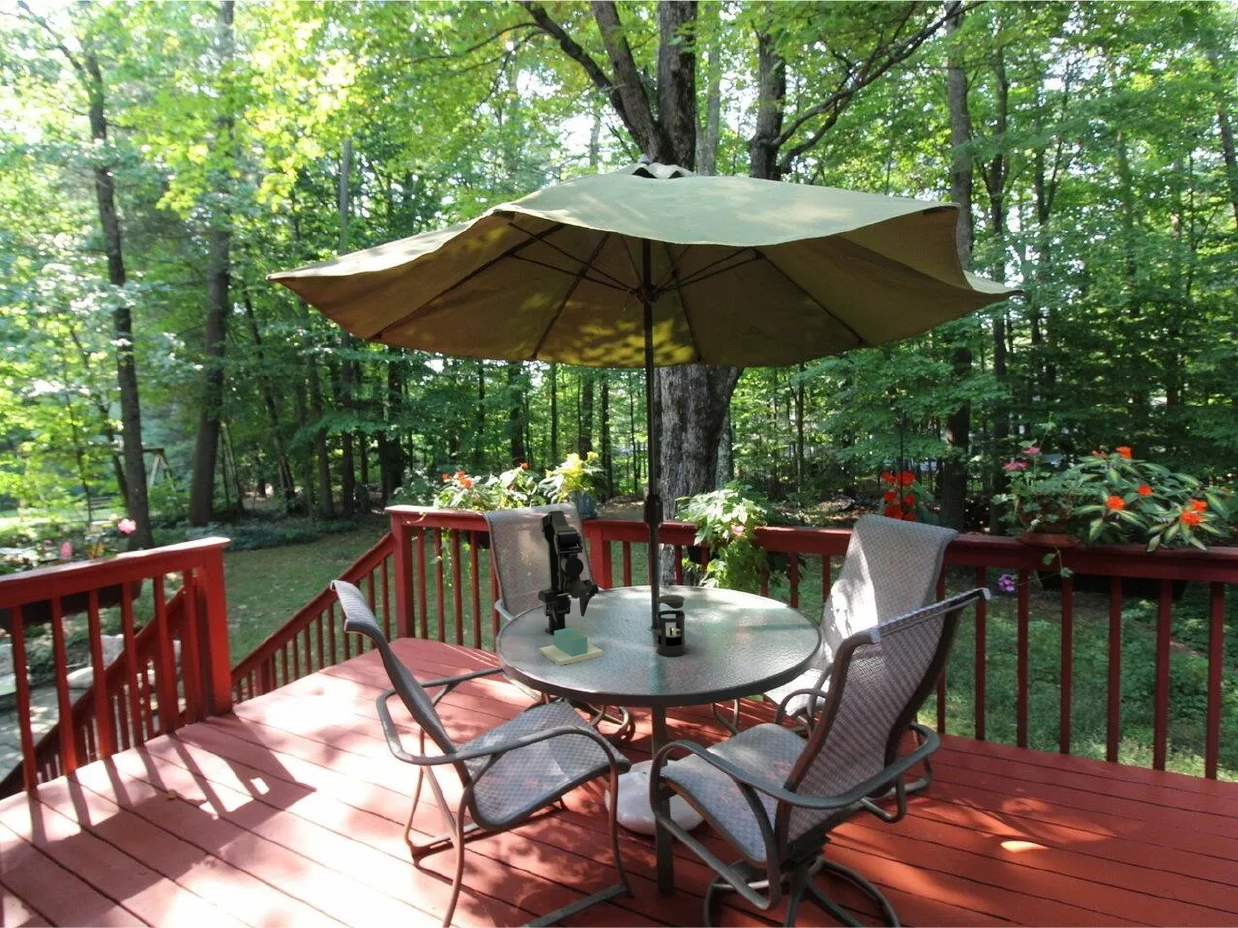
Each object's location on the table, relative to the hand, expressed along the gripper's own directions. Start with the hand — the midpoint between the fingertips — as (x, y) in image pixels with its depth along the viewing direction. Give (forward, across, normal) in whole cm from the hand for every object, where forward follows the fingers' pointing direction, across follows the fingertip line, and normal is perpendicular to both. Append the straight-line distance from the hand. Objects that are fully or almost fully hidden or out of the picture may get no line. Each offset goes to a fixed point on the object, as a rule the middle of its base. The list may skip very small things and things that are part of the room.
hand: (569, 618), depth 207 cm
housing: (+10, 0, 0) cm, 10 cm away
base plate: (+11, 0, 0) cm, 11 cm away
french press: (+12, +27, -17) cm, 34 cm away
